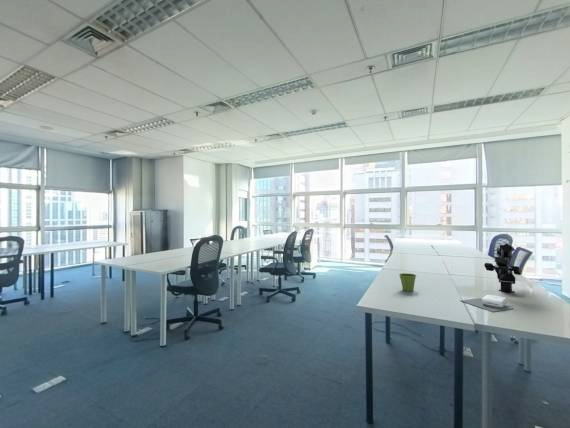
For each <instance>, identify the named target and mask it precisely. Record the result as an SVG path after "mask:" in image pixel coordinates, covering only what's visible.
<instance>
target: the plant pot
mask: <svg viewBox="0 0 570 428" xmlns="http://www.w3.org/2000/svg"><path fill="white" fill-rule="evenodd" d="M398 276H399V278H400V281H401V287H402V290H403V291H404V292H413V291H414V289H415V282H416V278H417V274H414V273H406V272H405V273H404V272H403V273H398Z"/></svg>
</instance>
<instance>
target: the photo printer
mask: <svg viewBox="0 0 570 428" xmlns="http://www.w3.org/2000/svg"><path fill="white" fill-rule="evenodd" d="M481 299H482V303H483V304H485V305H488V306H492V307H498V308H502V307H503V306H506V304H507V303H508V300H507V298H506V297H504V296H499V295H494V294H486V295H485V296H483V297H482V298H481Z"/></svg>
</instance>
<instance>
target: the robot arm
mask: <svg viewBox="0 0 570 428" xmlns="http://www.w3.org/2000/svg"><path fill="white" fill-rule="evenodd" d="M514 251H516V250H515V248H514V246H512V244H509V243H499V245H498V246H497V248H496V255H497V256H495V257H494V262H495V265H493V263H492V262H491V263H490V262H485V263H484V264H483V266H484V268H485V269H486V271H489V272H494V271H495V273H496V276H497V280H498V283H500V289H498V291H500V292H504V293H507V294H508V293H515V291H514V290H513V285H515V284H516V276H521V275H522V269H521V267H519V266H515V265H512V264H511V261H512V259H513V253H514ZM515 275H516V276H515Z"/></svg>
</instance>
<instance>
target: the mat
mask: <svg viewBox="0 0 570 428" xmlns="http://www.w3.org/2000/svg"><path fill="white" fill-rule="evenodd" d="M460 302H461V303H465V304H468V305H470V306H474V307H477V308H479V309H482V310H485V311H489V312H492V313H495V312H496V313H497V312H503V311H508V310H514V309H515V308H513V307H512V306H507V305H504V306H503V307H502V308H498V307H492V306H488V305H485V304H483V303H482V298H480V297H478V298H470V299H469V298H468V299H462V300H460Z"/></svg>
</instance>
